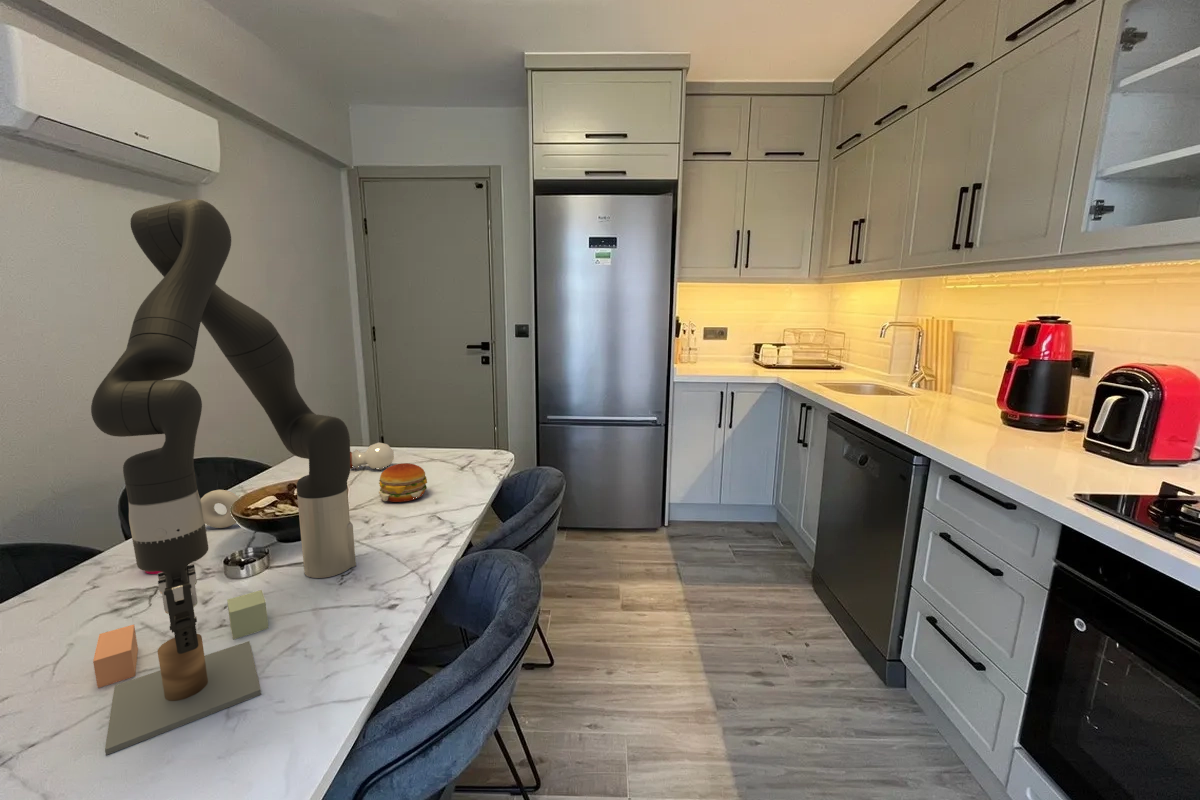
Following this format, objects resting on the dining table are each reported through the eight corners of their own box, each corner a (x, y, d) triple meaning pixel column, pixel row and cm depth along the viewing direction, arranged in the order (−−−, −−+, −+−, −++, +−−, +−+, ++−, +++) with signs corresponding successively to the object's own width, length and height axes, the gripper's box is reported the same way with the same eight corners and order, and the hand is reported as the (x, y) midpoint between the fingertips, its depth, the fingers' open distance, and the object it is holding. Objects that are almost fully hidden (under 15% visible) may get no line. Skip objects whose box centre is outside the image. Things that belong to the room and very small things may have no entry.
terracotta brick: (103, 660, 79) (99, 634, 78) (138, 649, 81) (134, 624, 81) (97, 689, 73) (93, 661, 72) (135, 676, 75) (130, 649, 75)
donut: (196, 531, 125) (191, 493, 123) (205, 525, 128) (200, 488, 126) (240, 529, 126) (236, 491, 125) (247, 524, 130) (243, 486, 128)
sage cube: (264, 615, 91) (261, 589, 90) (268, 628, 87) (265, 602, 86) (230, 626, 88) (227, 599, 87) (233, 640, 84) (229, 612, 83)
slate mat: (249, 645, 83) (249, 640, 82) (261, 694, 72) (260, 689, 72) (115, 690, 72) (114, 685, 72) (105, 755, 62) (104, 749, 62)
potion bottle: (395, 473, 176) (351, 479, 175) (399, 451, 183) (357, 457, 182) (387, 457, 169) (341, 463, 168) (391, 435, 176) (347, 440, 175)
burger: (437, 495, 152) (435, 463, 150) (398, 509, 141) (396, 474, 139) (408, 486, 159) (406, 456, 157) (369, 499, 148) (366, 466, 146)
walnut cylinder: (206, 671, 75) (200, 629, 74) (208, 689, 72) (202, 645, 70) (164, 686, 72) (157, 642, 71) (164, 706, 69) (157, 660, 67)
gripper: (208, 536, 65) (224, 648, 68) (200, 504, 76) (215, 602, 79) (129, 555, 60) (151, 674, 63) (133, 517, 71) (151, 622, 74)
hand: (186, 634), depth 71 cm, fingers open, 8 cm apart
